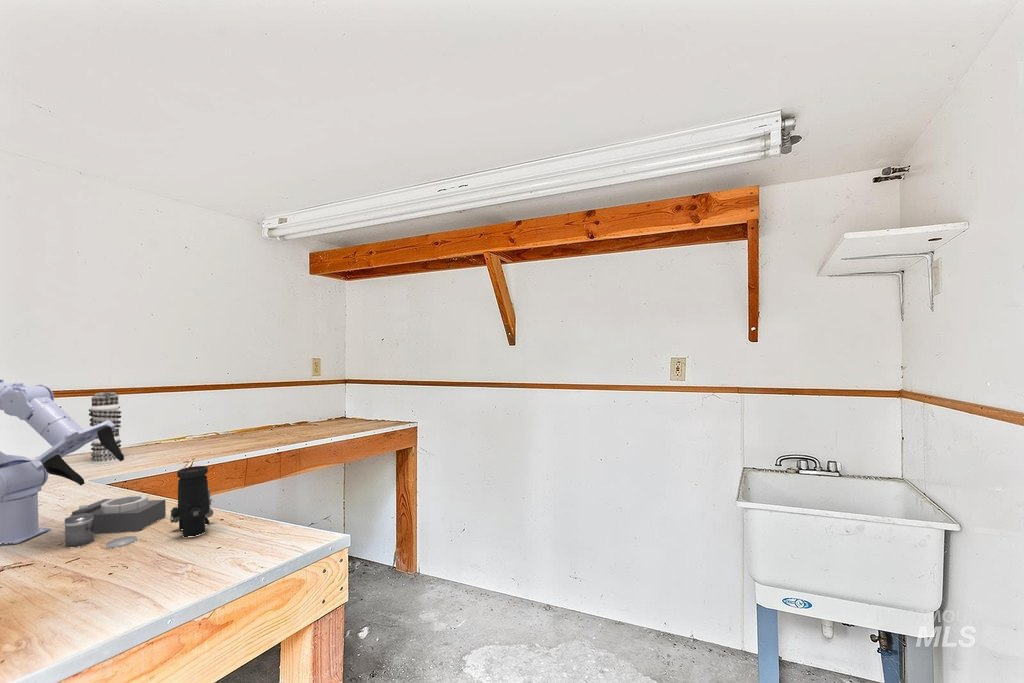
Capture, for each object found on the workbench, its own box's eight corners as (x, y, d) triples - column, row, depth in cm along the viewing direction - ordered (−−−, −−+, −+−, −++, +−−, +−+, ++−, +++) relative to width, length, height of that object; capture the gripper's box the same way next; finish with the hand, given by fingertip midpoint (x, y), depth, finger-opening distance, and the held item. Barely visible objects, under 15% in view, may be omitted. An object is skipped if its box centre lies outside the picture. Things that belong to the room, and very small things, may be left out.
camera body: (71, 534, 106) (70, 508, 106) (103, 519, 115) (103, 495, 115) (139, 531, 106) (138, 505, 107) (165, 516, 115) (165, 492, 116)
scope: (211, 460, 111) (218, 468, 104) (212, 521, 111) (219, 534, 103) (167, 467, 106) (171, 476, 98) (169, 531, 106) (173, 544, 98)
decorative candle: (87, 462, 177) (85, 393, 178) (119, 457, 184) (117, 390, 185) (92, 465, 172) (90, 394, 172) (125, 460, 179) (123, 391, 179)
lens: (58, 548, 98) (58, 521, 98) (77, 539, 103) (76, 513, 103) (82, 547, 98) (81, 520, 98) (99, 538, 103) (99, 512, 103)
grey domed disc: (99, 550, 97) (99, 546, 97) (118, 540, 102) (118, 536, 102) (125, 549, 98) (125, 545, 98) (143, 539, 103) (143, 535, 103)
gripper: (11, 439, 96) (60, 485, 95) (93, 399, 107) (138, 440, 106) (18, 456, 100) (64, 500, 99) (96, 415, 111) (138, 455, 110)
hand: (102, 470), depth 103 cm, fingers open, 7 cm apart
